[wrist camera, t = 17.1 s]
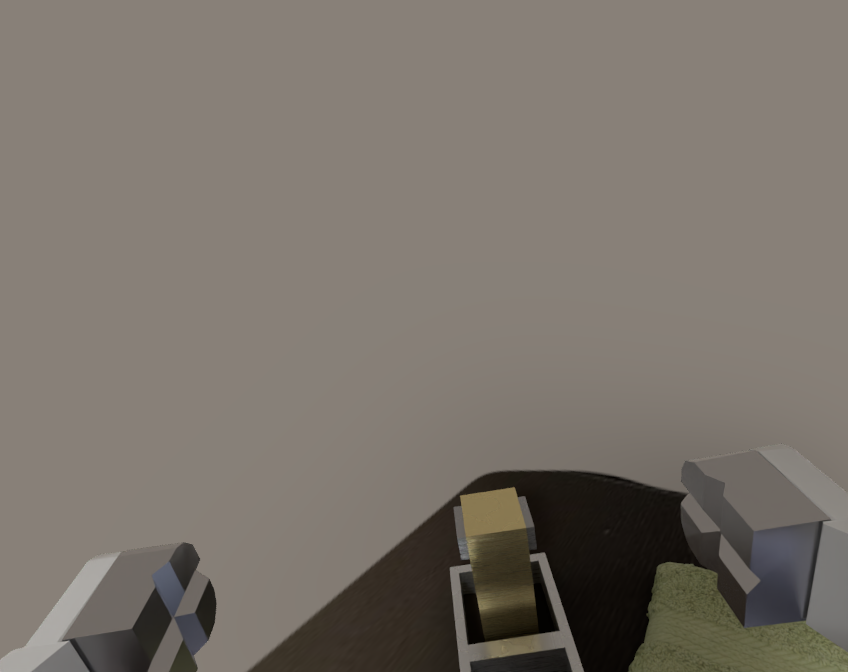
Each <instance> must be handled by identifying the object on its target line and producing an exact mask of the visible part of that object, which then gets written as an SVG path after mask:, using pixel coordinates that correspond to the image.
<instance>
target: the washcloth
mask: <svg viewBox="0 0 848 672" xmlns="http://www.w3.org/2000/svg"><path fill="white" fill-rule="evenodd" d="M717 577H718V574H717V573H715V572H714V571H711V570H709V569H703V568H700V567H695V566H694V565H693V564H685V565H684V564H682V563H681V564H680V563H673V562H666V563H664V564H661V565H659V566H658V567H657V571H656V575H655V581H654V587H653V588H652V593H653V596H652V601H651V602H650V603H649V606H648V611H649V612H648V614H646V615H647V616H648V618H649V624H648V627H647V631H646V635H645V640H644V643H643V644H641V646H640V647H639V648H638V651H636V654H635V658H634V661H633V662H632V663H631V664H630V666H629V671H628V672H848V652H847V651H845V650H844V649H842V648H841V647H839V646H838V645H836V644H835V643H833V642H832V641H830V640H829V639H827V638H826V637H824V636H823V635H821V634H820V633H818V632H817V631H815V630H814V629H812V628H811V627H810V626H808V625H807V624H806V621H799V622H790V623H782V624H774V625H765V626H757V627H749V628H744V627H743V626H742V624H741V623H740V621H739V620H738V618H737V617H736V616H735V614H734V613H733V611H732V610H731V608H730V607H729V605H728V604H727V602H726V601H725V599H724V598H723V597H722V595H721V594H720V592H719V591H718V589H717Z"/></svg>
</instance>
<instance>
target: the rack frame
mask: <svg viewBox="0 0 848 672" xmlns="http://www.w3.org/2000/svg"><path fill="white" fill-rule="evenodd" d="M530 562H531V571H532V579H533V584H537V583H541V585H542V588H543V592H544V595H545V598H546V602H547V605H548V608H549V612H550V615H551V618H552V622H553V625H554V628H555V632H549V633H543V634H536V635H530V636H523V637H517V638H510V639H503V640H497V641H490V642H484V643H477V644H471V645H469V637H468V629H467V621H466V613H465V605H464V597H463V595H466V594H473V593H476V590H475V584H474V579H473V573H472V568H471V564H469V565H462V566H456V567H450V576H451V585H452V595H453V605H454V615H455V625H456V635H457V644H458V654H459V664H460V672H584V670H583V667H582V664H581V661H580V658H579V655H578V652H577V649H576V646H575V643H574V640H573V637H572V634H571V631H570V628H569V625H568V622H567V619H566V616H565V613H564V610H563V606H562V603H561V600H560V597H559V594H558V591H557V588H556V585H555V582H554V579H553V576H552V573H551V570H550V567H549V564H548V561H547V558H546V555H545V553H538V554H532V555H530Z"/></svg>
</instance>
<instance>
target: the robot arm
mask: <svg viewBox="0 0 848 672" xmlns="http://www.w3.org/2000/svg"><path fill="white" fill-rule="evenodd" d="M681 482H682V483H683V484H684V485H685V487H686V488H687V490H688V491H689V493H688V495H687V496H686V497H685V499H684V500H683V501H682V502H681V522H682V526H683V530H684V534H685V537H686V540H687V542H688V544H689V546H690V548H691V550H692V552H693V553H694V555H695V556H696V558H697V559H698V561H699V562H700V564H701V565H703V566H705V567H707V568H708V569H710V570H712V571H714V572H715V573H717V574H718V577H717V589H718V591H719V592H720V594H721V595H722V597H723V598H724V599H725V601H726V602H727V604H728V605H729V607H730V608H731V610H732V611H733V613H734V614H735V616H736V617H737V618H738V620H739V621H740V623H741V624H742V626H743V627H744V628H749V627H757V626H765V625H774V624H782V623H790V622H799V621H806V624H807V625H808V626H810V627H811V628H812V629H814V630H815V631H817V632H818V633H820V634H821V635H823V636H824V637H826V638H827V639H829V640H830V641H832V642H833V643H835V644H836V645H838V646H839V647H841V648H842V649H844V650H845V651H847V652H848V493H847V492H846V491H845V490H843V489H842V488H841V487H840V486H838V485H837V484H836V483H835V482H834V481H833V480H831V479H830V478H829V477H828V476H826V475H825V474H824V473H823V472H822V471H820V470H819V469H818V468H817V467H815V466H814V465H813V464H812V463H811V462H809V461H808V460H807V459H806V458H805V457H803V456H802V455H801V454H800V453H798V452H797V451H796V450H795V449H794V448H792V447H791V446H788V445H785V444H782V443H781V444H776V445H770V446H765V447H760V448H754V449H749V450H748V451H741V452H735V453H729V454H723V455H718V456H711V457H705V458H699V459H694V460H688V461H685V463H684V465H683V467H682V477H681ZM199 561H200V558H199V556H198V554H197V552H196V550H195V548H194V547H193V545H192V544H188V543H177V544H170V545H162V546H155V547H147V548H141V549H133V550H127V551H123V552H115V553H108V554H101V555H98V556H96V557H94V558H93V559H91V560H89V561H88V562H87V563H86V565H85V566H84V567H83V569H82V570H81V571H80V573H79V574H78V575H77V577H76V578H75V580H74V581H73V582H72V583H71V585H70V586H69V588H68V589H67V590H66V592H65V593H64V595H63V596H62V597H61V598H60V600H59V601H58V602H57V604H56V605H55V606H54V608H53V609H52V611H51V612H50V613H49V615H48V616H47V617H46V619H45V620H44V622H43V623H42V624H41V625H40V627H39V628H38V629H37V631H36V632H35V634H34V635H33V636H32V638H31V639H30V640H29V642H28V643H27V644H26V646H25V647H24V648H19V649H14V650H12V651H11V652H10V653H9V654H7V655H6V656H4V657H3V658H2V659H0V672H196V671H197V664H196V661H195V658H194V655H195V654H196V653H197V652H198V651H199V650H200V648H201V647H202V646H203V645H204V644H205V643H206V642H207V641H208V640H209V637H210V634H211V631H212V629H213V626H214V623H215V614H216V598H215V592H214V588H213V586H212V584H211V582H210V579H209V578H207V577H205V576H204V575H202V574H201V573H199V572H197V571H196V568H197V566H198V563H199Z"/></svg>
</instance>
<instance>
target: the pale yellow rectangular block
mask: <svg viewBox="0 0 848 672" xmlns="http://www.w3.org/2000/svg"><path fill="white" fill-rule="evenodd" d="M460 498H461V505H462V506H458V507H454V514H455V523H456V532H457V540H458V545H459V550H460V555H461V560H467V559H470V563H471V568H472V573H473V579H474V584H475V590H476V595H477V600H478V606H479V611H480V617H481V622H482V628H483V633H484V638H485V642H490V641H497V640H503V639H510V638H517V637H523V636H530V635H536V634H539V628H538V620H537V611H536V603H535V595H534V587H533V579H532V571H531V562H530V554H529V550H534V549H537V546H536V537H535V528H534V524H533V521H532V517H531V514H530V511H529V508H528V504H527V501H526V498H525V496H523V497H517V494H516V490H515V487H514V488H507V489H501V490H494V491H488V492H481V493H475V494H469V495H462V496H460Z"/></svg>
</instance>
